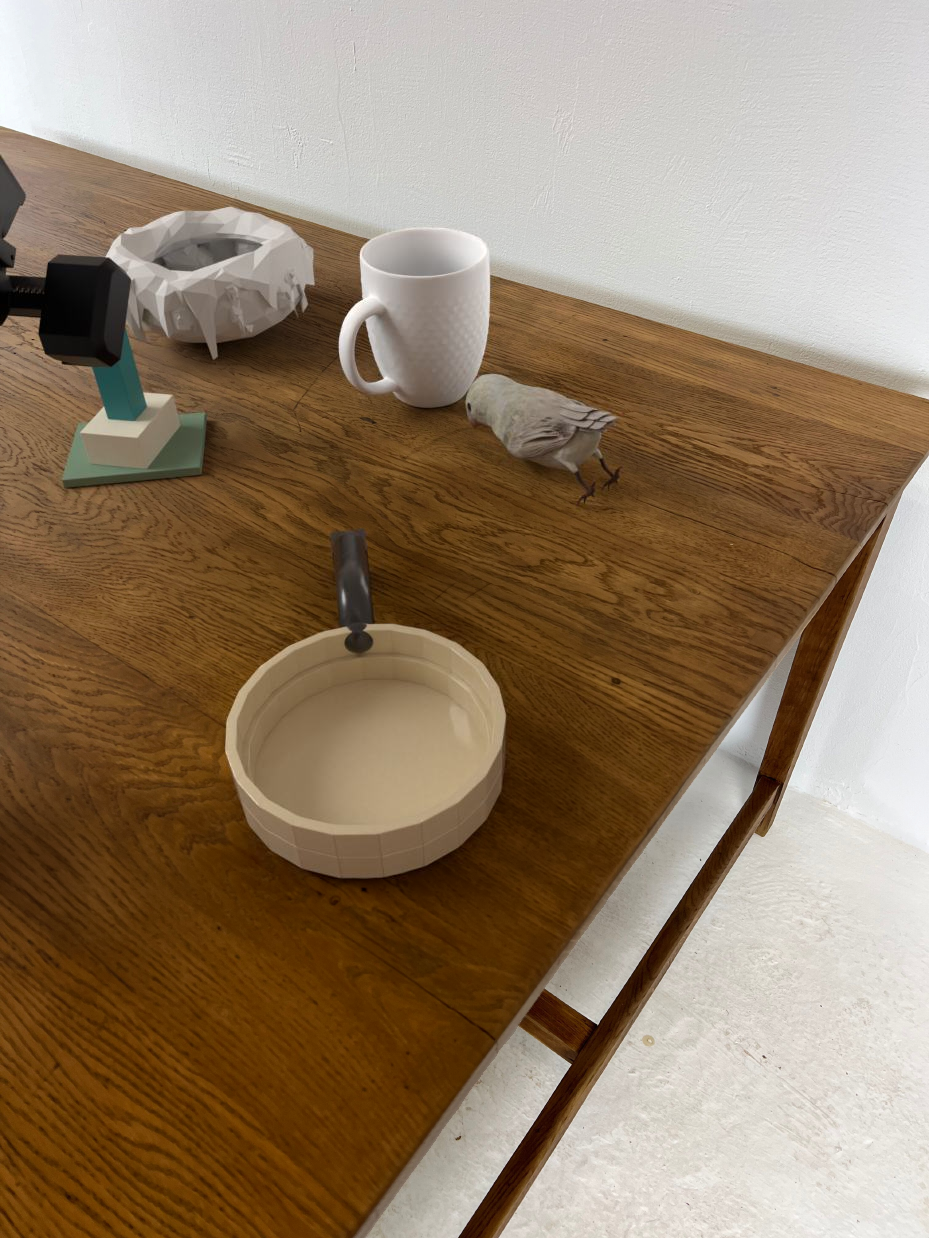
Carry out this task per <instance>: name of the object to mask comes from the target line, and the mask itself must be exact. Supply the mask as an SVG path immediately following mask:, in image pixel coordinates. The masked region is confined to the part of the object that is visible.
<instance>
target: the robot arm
mask: <svg viewBox="0 0 929 1238" xmlns="http://www.w3.org/2000/svg"><path fill="white" fill-rule="evenodd" d="M26 199H27V194H26V192H25V190H24V188H23V187H22V186H21V184H20V182H19V181H18V180H17V178H16V176H15V175H14V173H13V172H12V170H11V168H10V167H9V166H8V164H7V163H6V161H5V159H4V157H3V156H2V154H0V327H1V326H3V325H4V324H5V322H6V321H7V318H8V317H19V318H35V319H39V324H38V332H37V335H38V338H39V341H40V345H41V346H42V349H43V352H44V355H46V356H48V357H49V358H51V359H52V360H55V361H59V362H61V365H62V366H63V365H64V366H76V367H87V368H92V367H112V366H114V365H115V364H116V363H117V362H118V361H119V360H121V354H122V346H123V339H124V331H125V327H126V324H127V322H126V316H127V308H128V301H129V293H130V285H131V278H130V277H129V276H128V274H127V273H126V272H125V271H124V270H123V269H122V268H121V267H120V266H119V265H117V264H116V263H115V262H114V261H113V260H112V259H110V258H109V257H106V256H91V255H75V254H74V255H73V254H57V255H55V256H54V257H53V258H52V259H50V260H49V261H48V262H47V265H46V273H45V277H43V276H30V275H29V276H28V275H12V274H7V269H14V267H15V262H16V255H17V247H15V246H14V245H12V244H11V243H9V242H8V241H7V240H6V239H5V238H6V237H7V235H8V234H9V231H10V229H11V227H12V225H13V223H14V220H15V218H16V215H17V213H18V211H19V209H20V207H22V206H23V205H25V201H26Z"/></svg>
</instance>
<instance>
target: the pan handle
mask: <svg viewBox="0 0 929 1238" xmlns="http://www.w3.org/2000/svg"><path fill="white" fill-rule="evenodd" d="M330 543H331V544H330V546H331V547H330V548H331V556H332V563H333V570H334V578H335V579H334V580H335V590H336V602H337V614H338V628H342V627H347V629H349V630H350V631H352V632H351V633H350V634H349V635H348V636H347V637H346V639H345V642H344V645H345V647H346V649H347V650H348V651H350V652H352V653H357V654H359V653H364V652H366V651H368V650H369V649H371V647H372V646H373V638H372V637H371V635H369V634H368V633H367V632H364V631H363V630H364V629H365V628H366V627H367V624H376V622H375V621H376V620H375V614H374V605H373V597H372V591H371V589H372V582H371V572H370V563H369V554H368V545H367V537H366V530H365V529H364V528H362V529H361V528H359V529H351V530H341V531H332V532H330Z"/></svg>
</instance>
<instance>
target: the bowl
mask: <svg viewBox="0 0 929 1238" xmlns="http://www.w3.org/2000/svg"><path fill="white" fill-rule="evenodd" d="M105 257H109V258H110V259H112V260H113V261H114V262H115V263H116V264H117V265H119V266H120V267H121V268H122V269H123V270H124V271H125V272H126V273H127V274H128V276H129V277H130V278H131V285H130V293H129V301H128V308H127V316H126V324H127V326H128V328H129V329H130V331H131V334H132V335H133V337H135V338H136V339H138V340H140V341H142V342H143V343H145V344H147V345H148V344H149V343H148V340H147V337H146V334H145V330H144V329H146V330H147V331H148V332H151V333H153V334H156V335H158V336H162V337H165V338H168V339H169V340H170V339H171V340H175V341H179V342H183V343H191V344H192V343H195V344H196V343H198V344H199V343H201V344H207V347H208V349H209V352H210V355H211V357H212V360H214V361H215V359H216V358H218V357H219V355H218V346H217V344H218V343H225V342H232V341H237V340H244V339H248V338H249V339H250V338H253V337H255V336H257V335H259V334H261V333H263V332H265V331H266V330H268V329H270V328H271V327H274V326H275V325H277V324H279V323H280V322H282V321H284V320H285V319H286V318H287V317H288V316H289V315H290V314H291V313H292V312H293V311H294V312H295V315H296V318H297V319H299V315H298V312H297V311H298V310H297V308H296V307H297V305H298V303H300V307H301V312H302V313H304V312H305V310H306V309H307V307H308V305H309V302H308V299H307V296H306V293H305V288H306V287H308V285H310V286H316V285H315V284H316V283H315V274H314V267H313V266H314V265H313V262H314V257H315V256H314V248H312V247H311V246H310V245H309V244H307V242H306V241H305V239H303V238H302V237H301V236H299V234H298V233H296V232H295V231H294V230H293V229H292V226H289V225H287V224H285V223H282V222H280V221H277V220H274V219H272V218H271V217H268V216H266V215H264V214H262V213H260V212H253V211H251V212H250V211H245V210H242V209H239V208H237V207H233V206H227V207H223V208H217V209H214V210H180V211H175V212H172V213H169V214H167V215H163V216H161V217H159V218H157V219H155V220H154V221H151V222H149V223H147V224H145V225H143V226H141V227H139V226H138V227H129V228H128V229H126V230H125V231H124V232H122V233H120V234H119V235H118V236H117V237H116V238H115V240H113V241H112V243H111V246H110V248H109V250H108V252H107V253H106V255H105Z"/></svg>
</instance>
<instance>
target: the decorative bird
mask: <svg viewBox="0 0 929 1238" xmlns="http://www.w3.org/2000/svg"><path fill="white" fill-rule="evenodd" d="M465 410H466V414H467V415H466V416H467V420H468V422H469V424H470V426H471V427H472V428H473V429H476V428H480V427H483V426H487V427H489V428H491V429H492V431H493V434H494V435H495V436H496V437H497V438H498V439H499V440H500V441H501V443H502V444H503V445H504V447H505V448H506V450H507V451H508V452H509V454H510V455H511V456H512V457H514V458H515V459H518V460H522V461H523V460H528V461H531V462H534V463H535V464H538V465H540V466H544V467H547V468H553V469H558V470H559V471H564V472H565V471H566V472H569V471H570V472H572V473H573V474H574V475H575V477H576V480H577V481H578V483H579V484H580V485H581V486H582V487H583V488H584V490H586V492H585V493H583V494H582V495H581V496H580V497H579V499H578V501H577V503H576V507H578V506H579V503H580V502H581V501H583V504H584V505H586V502H587V501H586V500H587V499H588V498H589V497H592V498H595V495H594V494H595V492H596V488H595V486H596V483H597V482H599V480H595V481H593V482H592V483H591V485H590V487H589V485H588V484H586V482H585V481H584V480H583V479H582V476H581V473H580V471H579V469H578V467H580V466H582V465H583V464H584V463H586V462H587V461H588V460H589V458H590V457H591V456H593V457H594V458H596V459H597V460H598V461H599V463H600V466H601V467H602V469H603V471H605V472H606V474H607V475H608V476H609V477H610V479H608V480H607V481H606V482H605V483H604V484H603V486H602V488H601V492H600V493H601V494H602V493H603V490H604V489H605V487H607V491H608V492H610V487H611V485H613V484H614V483H615V484H616V485H619V482H618V480H619V479H620V477H621V475H620V474H619V473H620V470H621V469H623V468H624V466H620V467H618V468H617V469H616V470H615V472H614V473H613V472H612V471H611V470H610V469H609V468H608V467H607V465H606V462H605V459H604V458H603V455H602V453H601V451H600V449H599V444H600V442H601V439H602V433H605V432H607V431H608V429H607V427H616V426H617V424H616V423H615V422H614V420H617V419H621V417H620V416H615V415H612V414H611V413H612V412H608V411H602V410H601V408H595V407H591V406H587V405H586V404H585V403H583V402H581V401H579V400H576V399H573V398H567V396H565V395H563V394H561V393H558V392H556V391H553V390H550V389H547V388H543V387H539V386H538V387H537V386H531V385H526V384H522V383H519V382H517V381H515V380H513V379H512V378H510V377H507V376H505V375H503V374H498V373H487V374H481V375H480V376H479V377H476V378H475V379H474V381H473V383H472V385H471V386H470V388H469V389H468V391H467V392H466V397H465ZM605 427H606V428H605Z"/></svg>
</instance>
